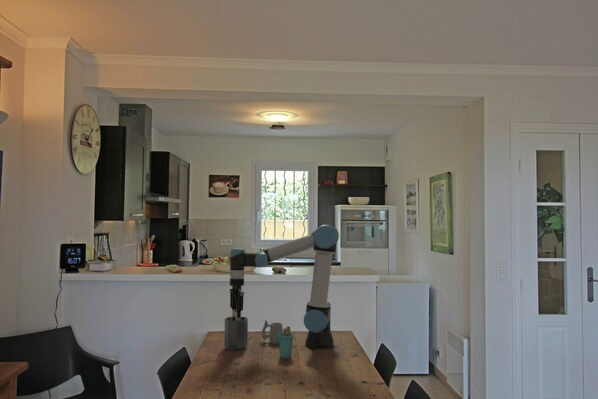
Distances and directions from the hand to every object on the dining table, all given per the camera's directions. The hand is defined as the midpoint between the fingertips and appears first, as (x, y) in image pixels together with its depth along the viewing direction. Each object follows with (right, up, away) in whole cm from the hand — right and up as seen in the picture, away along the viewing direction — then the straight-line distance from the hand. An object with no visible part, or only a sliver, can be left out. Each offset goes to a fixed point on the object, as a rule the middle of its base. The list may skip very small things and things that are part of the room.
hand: (236, 322), depth 243 cm
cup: (+26, -12, -18) cm, 34 cm away
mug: (+18, -14, +11) cm, 26 cm away
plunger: (0, -11, -1) cm, 11 cm away
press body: (-1, -13, +1) cm, 13 cm away
